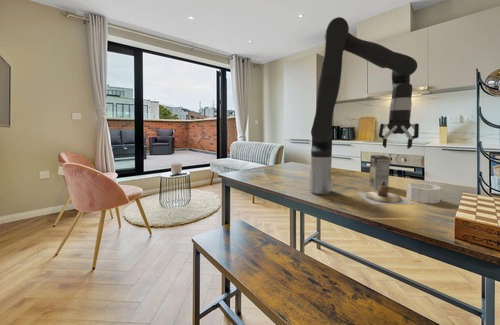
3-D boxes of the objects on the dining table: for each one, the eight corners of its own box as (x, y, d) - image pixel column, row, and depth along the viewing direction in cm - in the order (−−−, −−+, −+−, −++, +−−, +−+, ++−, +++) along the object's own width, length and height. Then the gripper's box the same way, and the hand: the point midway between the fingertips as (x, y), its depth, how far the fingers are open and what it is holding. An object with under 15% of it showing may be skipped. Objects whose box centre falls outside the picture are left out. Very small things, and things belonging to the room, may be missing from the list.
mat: (372, 205, 91) (372, 204, 91) (355, 193, 107) (355, 192, 107) (414, 205, 90) (414, 203, 90) (391, 193, 106) (391, 192, 106)
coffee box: (368, 185, 121) (370, 155, 119) (381, 185, 120) (383, 155, 117) (374, 190, 112) (375, 157, 110) (388, 190, 111) (390, 157, 108)
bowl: (417, 204, 91) (418, 189, 90) (400, 196, 101) (401, 183, 101) (446, 204, 90) (448, 189, 89) (426, 196, 101) (427, 182, 100)
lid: (374, 202, 92) (375, 190, 92) (360, 193, 105) (360, 183, 104) (407, 202, 92) (408, 190, 91) (389, 193, 104) (390, 182, 104)
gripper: (381, 109, 97) (378, 148, 100) (422, 108, 91) (418, 149, 93) (380, 110, 104) (377, 146, 106) (419, 109, 98) (414, 148, 100)
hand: (396, 148), depth 100 cm, fingers open, 8 cm apart
